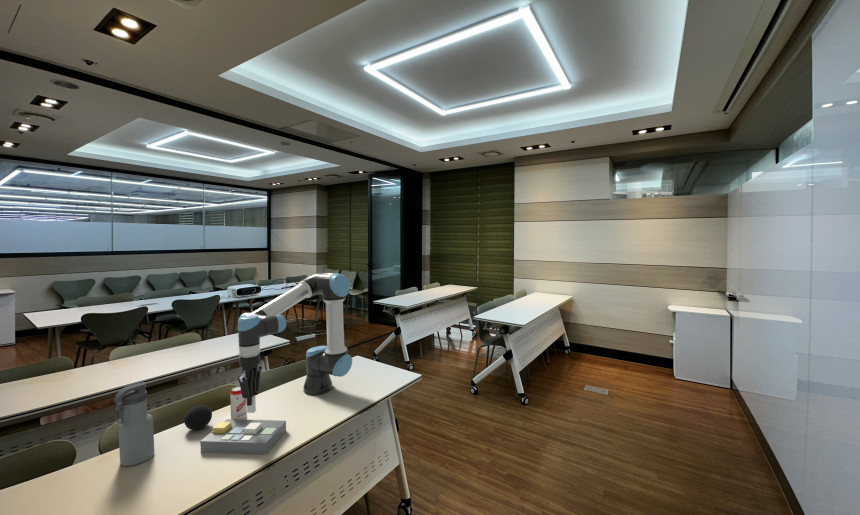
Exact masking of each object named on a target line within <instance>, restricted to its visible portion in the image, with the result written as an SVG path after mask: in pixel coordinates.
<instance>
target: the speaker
mask: <svg viewBox="0 0 860 515" xmlns="http://www.w3.org/2000/svg"><path fill="white" fill-rule="evenodd" d="M212 411H213V410H212V409H211V408H210V407H209V406H207V405H206V404H198V405H195V406H193V407H191V408H189V410H188V411H187V412H186V413H185V416H184V418H183V419H184V420H183V422H184V426H185V427H186V428H187V429H188V430H191V431H199V430H201V429H204V428H205V427H206V426H208V425H209V423H210V422H211V421H212V418H213V412H212Z"/></svg>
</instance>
